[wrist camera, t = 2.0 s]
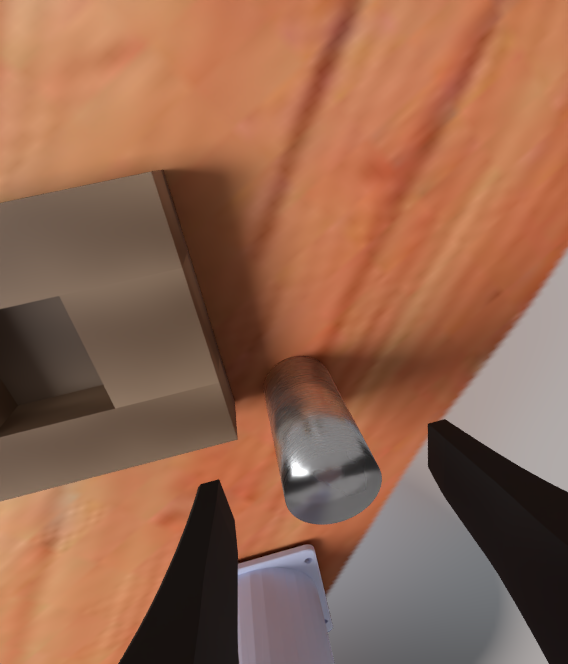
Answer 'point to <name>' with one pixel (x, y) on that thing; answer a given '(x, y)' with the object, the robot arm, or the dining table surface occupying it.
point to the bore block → (102, 337)
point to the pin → (318, 444)
